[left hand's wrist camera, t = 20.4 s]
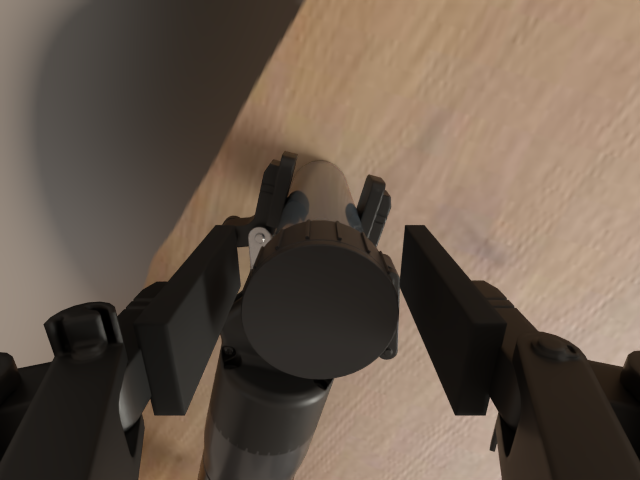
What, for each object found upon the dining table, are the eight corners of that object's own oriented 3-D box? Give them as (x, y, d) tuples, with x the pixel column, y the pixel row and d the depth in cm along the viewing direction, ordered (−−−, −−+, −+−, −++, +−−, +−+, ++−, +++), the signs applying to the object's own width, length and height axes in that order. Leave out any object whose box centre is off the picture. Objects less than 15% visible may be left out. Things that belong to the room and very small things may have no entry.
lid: (229, 245, 12) (210, 274, 10) (364, 198, 11) (374, 219, 9) (282, 353, 13) (276, 396, 11) (403, 317, 13) (418, 356, 11)
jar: (287, 164, 25) (244, 249, 10) (344, 156, 24) (377, 232, 10) (297, 218, 26) (270, 356, 12) (350, 211, 26) (387, 343, 12)
